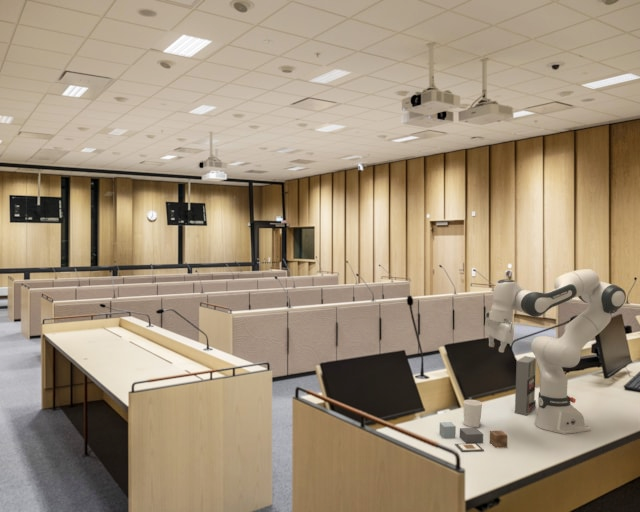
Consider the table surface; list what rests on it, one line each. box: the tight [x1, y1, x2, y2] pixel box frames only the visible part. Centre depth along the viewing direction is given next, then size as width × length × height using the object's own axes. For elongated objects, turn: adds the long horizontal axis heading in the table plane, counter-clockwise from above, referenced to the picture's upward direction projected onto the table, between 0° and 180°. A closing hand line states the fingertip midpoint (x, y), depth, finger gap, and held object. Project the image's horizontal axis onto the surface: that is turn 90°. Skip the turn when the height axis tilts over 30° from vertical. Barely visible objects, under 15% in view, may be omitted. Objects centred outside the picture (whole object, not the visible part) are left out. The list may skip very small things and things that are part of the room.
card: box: [454, 443, 485, 453], centre depth 206 cm, size 9×7×1 cm
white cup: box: [462, 399, 483, 428], centre depth 232 cm, size 8×8×10 cm
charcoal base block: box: [459, 427, 484, 444], centre depth 214 cm, size 7×7×4 cm
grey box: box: [514, 355, 537, 416], centre depth 252 cm, size 14×6×25 cm, turn 143°
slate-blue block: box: [439, 421, 457, 439], centre depth 218 cm, size 5×5×5 cm
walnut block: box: [489, 429, 509, 449], centre depth 210 cm, size 5×5×5 cm
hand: (496, 349), depth 223 cm, fingers open, 8 cm apart
